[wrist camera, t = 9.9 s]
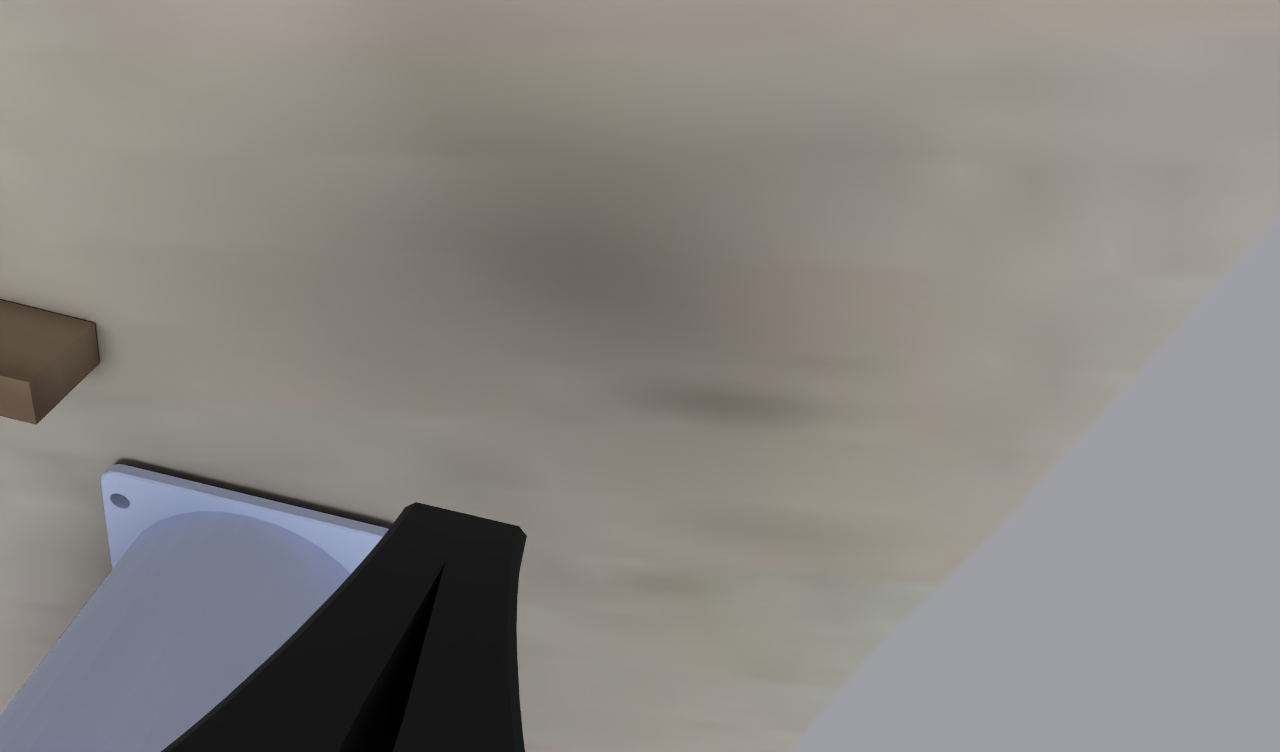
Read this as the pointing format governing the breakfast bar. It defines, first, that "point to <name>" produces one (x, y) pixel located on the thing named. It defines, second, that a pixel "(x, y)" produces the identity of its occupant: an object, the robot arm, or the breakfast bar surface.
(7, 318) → the u-shaped wooden tray
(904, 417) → the breakfast bar surface
